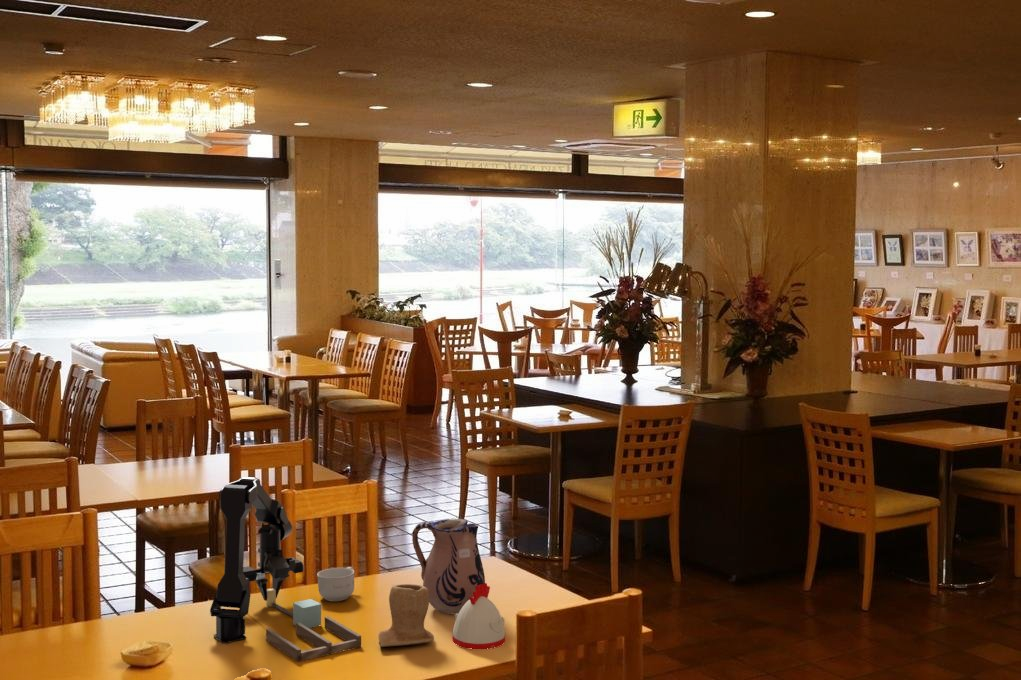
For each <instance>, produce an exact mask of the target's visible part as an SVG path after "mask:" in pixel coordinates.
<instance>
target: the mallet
mask: <svg viewBox="0 0 1021 680" xmlns="http://www.w3.org/2000/svg"><path fill="white" fill-rule="evenodd" d="M266 607H269V608H272V607H273V608H275V609H277V610H279V611H280V612H282V613H285V614H286V615H288V616H290V617H292V625H293V626H295V625H296V623H299V622H300V623H301V624H303V625H304V626H306V627H308V628H309V629H312V627H313V628H316V627H315V626H317V627H320V626H319V625H321V626H322V603H321V602H318V601H316V600H314V599H312V598H310V599H309V598H308V599H305V600H304V599H303V600H299V601H295V602H292V611H290V610H288V609H287V608H284V606H281V605H279V604H278V603H277V598H276V589H273V588H267V601H266Z"/></svg>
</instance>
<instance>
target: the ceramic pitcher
mask: <svg viewBox="0 0 1021 680" xmlns="http://www.w3.org/2000/svg"><path fill="white" fill-rule="evenodd" d="M468 522H469V521H468V520H467V519H463V518H451V519H450V518H449V519H448V518H446V519H440V520H436V521H432V522H429V521H424V522H420V523H418V524H416V525H415V527H414V529H412V532H411V533H412V534H411V537H412V538H411V539H412V546H413V549H414V551H415V555H416V557H417V559H418V562H419V565H420V567H421V574H420V575H421V579H422V581H423V582H422V586H424V587H426V588H427V589H428V591H429V605H431V606H432V607H433V609H435V610H437V611H438V612H440V613H443V614H448V615H456V613H457V614H459V612H460V610H461V609H462V607H463V606H464V604H465V603H466V602H467V601H468V600H470V597H473V591H475V592H476V586H477V585H478V586H480V584H482V585H483V584H484V583H486V577H485V572H484V567H483V562H482V557H481V555H480V550H479V546H478V539H477V535H478V534H477V533H478V529H479V525H477V524H475V523H468ZM423 529H426V530H427V529H428V530H429V531H430V532H431V533H432V535H433V537H434V541H433V544H432V547H431V549H430V552H429V554H428V556H427V558H425V556H424V553H423V550H422V548H421V546H420V543H419V532H420V531H421V530H423Z"/></svg>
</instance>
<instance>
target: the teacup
mask: <svg viewBox="0 0 1021 680" xmlns="http://www.w3.org/2000/svg"><path fill="white" fill-rule="evenodd" d="M316 576H317V586H318V587H317V588H318V594H319V595H320V597H322V598H324V600H326V601H328V602H340V601H345V600H347V599H349V598H350V596H351V595H352V594H353V593H354V591H355V569H354V567H352V566H347V567H331V568H326V569H323V570H320V571H318V572H317V573H316Z"/></svg>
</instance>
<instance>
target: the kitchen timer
mask: <svg viewBox="0 0 1021 680" xmlns="http://www.w3.org/2000/svg"><path fill="white" fill-rule="evenodd" d="M490 589H491V586H490V585H488V583H486V582H485V583H484V584H483V585H482V584H480V586H478V585H477V586H476V592H475V591H473V597H470V600H468V601H467V602H466V603H465V604H464V606H463V607H462V609H461V610H460V612H459V614H457V613H456V614H454V625H453V630H452V643H453V642H454V643H455V644H457V645H459V646H461V647H460V648H462V647H465V648H464V649H466V648H472V649H471V650H473V649H485V650H491V649H490V648H492V649H495V648H494V647H496V648H498V646H499V647H501V646H503V645H504V644H505V642H506V631H505V618H504V617H503V616H501V613H500V610H499V609H498V608H497V605H496V604H495V603H494V602H493V601H491V600H490V599H489V598H488V597H489V593H490ZM503 643H504V644H503ZM455 644H454V645H455ZM502 644H503V645H502ZM457 645H456V646H457ZM500 645H501V646H500ZM459 646H458V647H459ZM487 648H488V649H487Z"/></svg>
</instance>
